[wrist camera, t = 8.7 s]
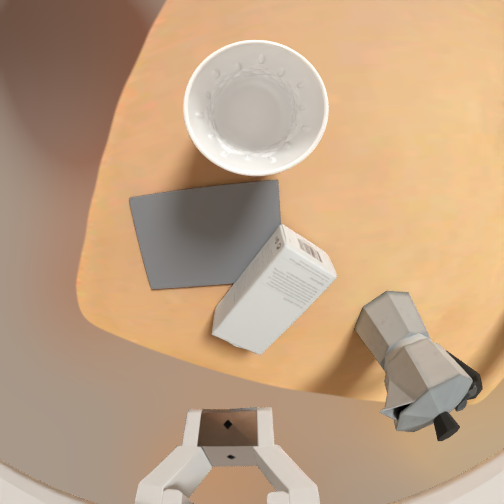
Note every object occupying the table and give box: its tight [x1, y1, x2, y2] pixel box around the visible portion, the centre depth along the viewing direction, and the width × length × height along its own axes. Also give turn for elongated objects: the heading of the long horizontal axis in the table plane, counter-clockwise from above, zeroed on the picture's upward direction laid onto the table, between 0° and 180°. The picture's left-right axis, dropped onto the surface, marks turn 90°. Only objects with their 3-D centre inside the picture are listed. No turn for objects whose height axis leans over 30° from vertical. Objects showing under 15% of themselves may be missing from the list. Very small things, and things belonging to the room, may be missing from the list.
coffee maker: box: [354, 291, 482, 441], centre depth 25 cm, size 15×9×18 cm, turn 82°
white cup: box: [183, 40, 329, 176], centre depth 18 cm, size 8×8×10 cm
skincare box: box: [212, 224, 337, 355], centre depth 28 cm, size 6×4×12 cm
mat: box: [129, 180, 281, 289], centre depth 28 cm, size 14×10×1 cm
